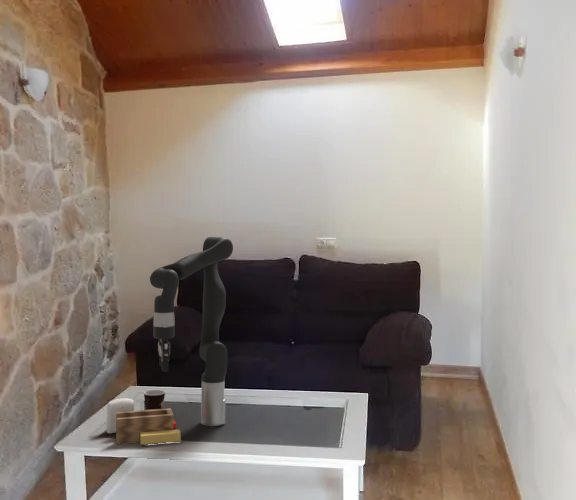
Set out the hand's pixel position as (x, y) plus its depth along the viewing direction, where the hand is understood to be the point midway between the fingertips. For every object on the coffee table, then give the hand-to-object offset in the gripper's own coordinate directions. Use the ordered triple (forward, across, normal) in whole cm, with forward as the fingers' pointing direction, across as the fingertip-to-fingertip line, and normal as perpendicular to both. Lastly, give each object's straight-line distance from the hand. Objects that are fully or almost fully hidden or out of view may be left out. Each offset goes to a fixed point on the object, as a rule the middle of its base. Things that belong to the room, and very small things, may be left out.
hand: (163, 368), depth 207 cm
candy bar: (+28, -21, +4) cm, 35 cm away
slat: (+26, 0, -1) cm, 26 cm away
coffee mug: (+27, -32, -2) cm, 42 cm away
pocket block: (+27, -7, -6) cm, 29 cm away
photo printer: (+27, -18, -14) cm, 35 cm away
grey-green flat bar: (+27, 0, 0) cm, 27 cm away
